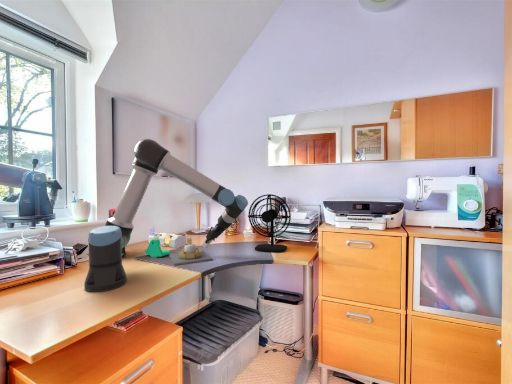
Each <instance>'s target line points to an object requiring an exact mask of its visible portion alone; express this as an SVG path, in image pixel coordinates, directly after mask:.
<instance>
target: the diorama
mask: <svg viewBox="0 0 512 384" xmlns="http://www.w3.org/2000/svg"><path fill="white" fill-rule="evenodd" d="M149 231H150V232H149V236H148V238H147V239H148V244H149V243H150V241H151V240H153V239H155V237H157V235H159V237H158V239H159V240H160V245H159V246H160V247H162V248H163V247H164V248H166V244H168V245H169V248H172V249H179V248H184V246H185V245H187V236H185V235H182V234H181V235H180V234H173V233H165V232H155V231H156V230H155V227H154V226H152V227H151V228H150V229H149Z"/></svg>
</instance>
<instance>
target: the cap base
mask: <svg viewBox="0 0 512 384" xmlns="http://www.w3.org/2000/svg"><path fill="white" fill-rule="evenodd" d="M195 247H196V244H190V245H187V244H186V245H185V246H183V248H184V251H186V253H194V251H195ZM200 250H201V249H200ZM168 257H169V259H170V261H171V262H172V264H173V265H174V266H175V267H176V266H182V265H187V264H194V263H201V262H203V263H204V262H208V261H213V257H211V255H209V254H208V253H207V252H206V251H205V250H201V256H200V257H197V258H192V259H182V258H179V252H177V253H170V254H168Z"/></svg>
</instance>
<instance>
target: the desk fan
mask: <svg viewBox="0 0 512 384" xmlns="http://www.w3.org/2000/svg"><path fill="white" fill-rule="evenodd" d="M266 196H267V197H266ZM264 197H266V198H264ZM273 197H275V198H273ZM261 198H262V199H261ZM263 201H266V203H265V204H261V205H260V206H259V204H260V203H261V202H263ZM272 201H275V202H277V203H278V204H279V205H278V204H276V203H272ZM258 206H259V207H258ZM269 206H270V209H269ZM257 207H258V208H257ZM263 207H266V209H265V211H262V209H263ZM281 207H282V208H281ZM273 208H275V209H273ZM278 208H279V209H278ZM255 211H256V212H255ZM258 211H259V212H258ZM261 211H262V213H261ZM283 211H284V213H283ZM280 212H281V213H280ZM258 213H259V214H258ZM283 214H284V215H283ZM291 215H292V214H291V209H290V206H289V205H288V203H287V202H286V200H285V199H283V198H281V197H280V196H278V195H275V194H268V193H267V194H262V195H261V196H258V197H257V198H255V199H254V200H253V201H252V203H251V204H250V206H249V209H248V215H247V218H248V221H249V225H250V226H251V228H252V229H253V231H254V232H256V234H258V235H260V236H262V237H264V238H270V243H260V244H257V245H256V246H254V250H255V251H258V252H269V253H270V252H271V253H281V252H286V251H287V250H288V246H287V245H285V244H276V243H275V238H276V237H280V236H281V235H282V234H283V233H284V232H286V231H287V229H288V228H289V226H290V224H291V219H292V216H291ZM258 219H259V220H260V222H261V223H262V224H263V225H264V226H265V227H264V226H263V225H261V224H260V223H259V221H258ZM276 219H277V220H278V222H277V223H276V224H274V223H275V220H276ZM283 219H284V222H283V224H282V226H281V228H280V229H278V230H274V229H275V228H276V227H277V226H279V225H280V224H281V222H282V221H283ZM287 221H288V223H287ZM269 225H270V226H269ZM285 226H286V227H285ZM284 227H285V228H284ZM283 229H284V230H283ZM282 230H283V231H282ZM280 231H281V232H280ZM279 232H280V233H279Z"/></svg>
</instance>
